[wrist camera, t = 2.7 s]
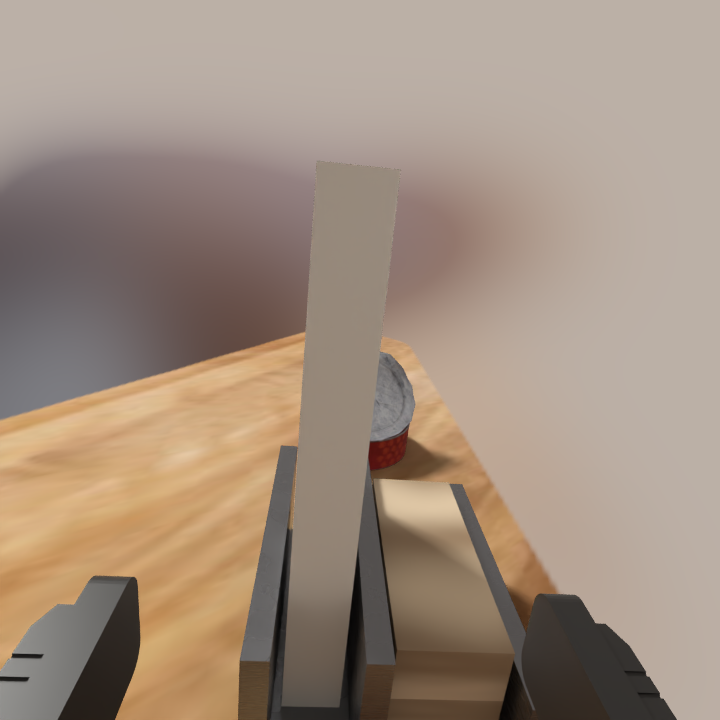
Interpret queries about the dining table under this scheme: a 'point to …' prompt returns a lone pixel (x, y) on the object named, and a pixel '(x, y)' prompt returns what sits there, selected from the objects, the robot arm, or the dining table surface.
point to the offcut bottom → (443, 709)
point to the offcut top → (438, 598)
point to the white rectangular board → (336, 419)
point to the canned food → (390, 414)
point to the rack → (366, 624)
